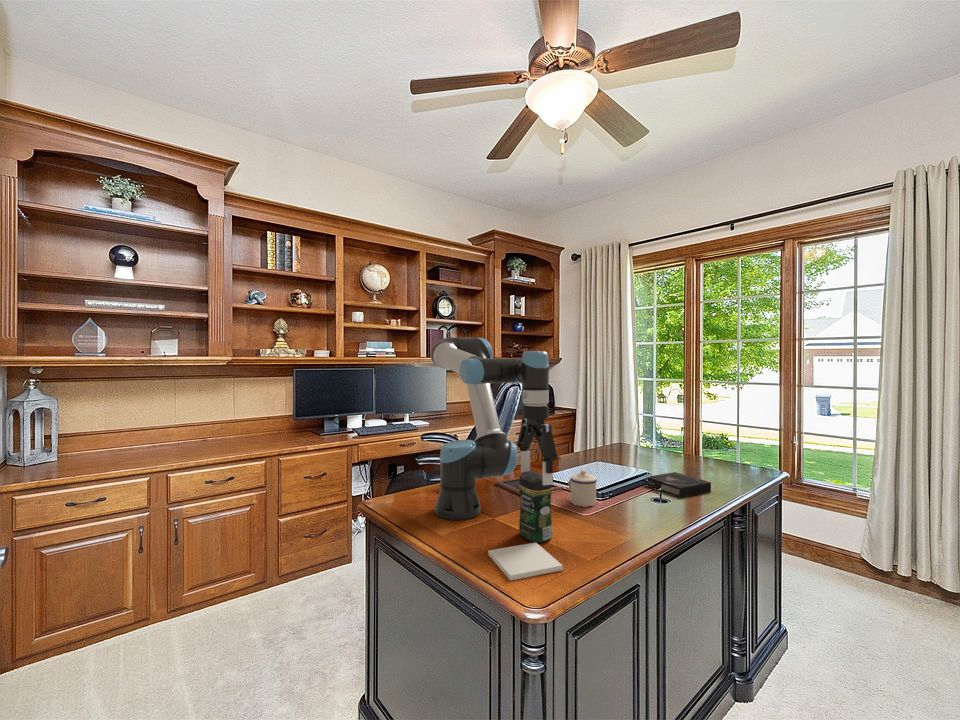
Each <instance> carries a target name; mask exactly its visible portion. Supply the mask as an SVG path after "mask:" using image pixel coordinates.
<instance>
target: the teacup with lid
mask: <svg viewBox="0 0 960 720" xmlns="http://www.w3.org/2000/svg"><path fill="white" fill-rule="evenodd" d="M597 481H598V480H597V477H596V476H594V475H591V474H590V473H589V472H588V471H587V470H586V469H581V470H580V472H578V473H576V474H573V475H571V477H570V479H569V480H568V485H569V489H568V490H569V491H570V497H571V498H570V499H571V500H570V502H571V504H572V503H573V504H572V505H574V506H576V505H577V506H576V507H580V506H583V507H582V508H589V507H588V506H592V507H595V506H596V505H597ZM595 504H596V505H595Z"/></svg>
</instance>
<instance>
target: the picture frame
mask: <svg viewBox="0 0 960 720" xmlns="http://www.w3.org/2000/svg"><path fill="white" fill-rule="evenodd" d="M540 474H542V475H543V472H542V473H541V472H540ZM519 481H520V476H519V477H514V478H507V479H503V480H498V481H497V480H496V481H495V485H496V486H497V487H500V488H502V489H504V490H507V491H509V492H510V493H511V492H512V493H513V492H514V494H515V493H516V495H517V494H518V495H517V496H519V497H521V495H520V488H519ZM562 488H563V487H554V488H553V487H552V491H556V490H560V489H562Z"/></svg>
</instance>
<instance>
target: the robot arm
mask: <svg viewBox="0 0 960 720" xmlns="http://www.w3.org/2000/svg"><path fill="white" fill-rule="evenodd" d="M432 345H433V346H432V347H431V349H430V353H429V354H430V355H429V356H430V360H431V362H432V363H433V364H434V365H435V366H436V367H438V368H440V369H446V370H447V369H449V370H451V371H453V372H455V373H457V374H458V375H459V377H460V379H461V382H462V383H464V384H466V388H467V392H468V397H469V403H470V407H471V408H470V409H471V411H472V416H473V421H474V427H475V432H476V437H475V439H474V440H472V439H458V440H453V441H449V442H447V443H445V444H444V445H442V446H441V447H440V455H439V456H440V457H439V465H440V467H439V469H440V471H439V472H440V474H439V475H440V479H439V480H440V482H439V483H440V485H439V487H440V488H439V493H438V496H437V499H436V502H435V506H434V513H436V514H435V515H436V516H437V517H439V518H441V519H444V520H452V521H462V520H464V521H465V520H468V519H472V518H475V517H477V516H478V515H480V513H481V502H480V500H479V497H478V493H477V490H476V480H478V479H486V478H494V477H495V478H496V477H503V476H508V475H510V474H512V473H513V472H514V471H515V469H516V466H517V462H518V450H517V448H519V451H520V474H522V473H523V472H527V471H531V445H532V443H533V440H534V439H535V441H537V444H538V446H539V449H540V451H541V455H542V456H543V457H542V460H541V463H542V473H543V485H552V484H553V476H554V475H553V473H554V472H553V471H554V470H553V469H554V467H553V466H554V465H553V462H554V461H558V454H557V449H556V445H555V441H554V436H553V433H552V424H551V423H547V424H546V422H545V420H547V419H549V417H550V407H549V405H548V404H549V403H550V394H549V393H550V391H549V385H550V384H549V382H550V381H549V377H550V375H549V374H550V373H549V372H550V369H549V368H550V364H549V354H548V352H547V351H544V350H542V351H541V350H532V351H531V350H530V351H529V350H528V351H524V352H522V354H521V357H508V358H507V357H504V358H503V357H500V358H499V357H498V358H497V357H495V358H493V356H494V354H493V353H494V352H493V348H492V345H491V344H490V342H489V341H488V340H487V339H485V338H484V337H476V336H475V337H474V336H473V337H453V336H451V337H449V336H448V337H444V338H441V339H439V340H437V341H436V342H434V344H432ZM508 383H509V384H510V383H511V384H512V383H516V384H517V383H519V384H520V383H521V384H522V393H521V398H522V403H523V406H522V418H521V423H520V424H521V425H520V429H519V433H518V438H517V439H518V440H517V444H516V443H515V442H514V441H512V440H510V439H509V440H508V435H507V434H506V433H505V432H504V431H503V430H502V429H501V426H500V421H499V417H498V413H497V410H496V409H497V408H496V403H495V401H494V396H493V395H494V394H493V392H492V388H491V384H508Z"/></svg>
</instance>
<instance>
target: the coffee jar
mask: <svg viewBox="0 0 960 720" xmlns="http://www.w3.org/2000/svg"><path fill="white" fill-rule="evenodd" d="M519 477H520V481H519V488H520V495H521V496H520V495H519V496H520V504H519V505H520V510H519V521H518V522H519V525H518V528H519V529H518V531H519V534H520V536H522V537H523V538H524V539H526V540H528V541H530V542H531V543H546V542H548V541H550V540H551V539H552V538H553V522H552V493H553V492H552V485H543V475H542V474H541V473H539V472H536V471H534V470H530V471H527V472H523V473H520V476H519Z"/></svg>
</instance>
